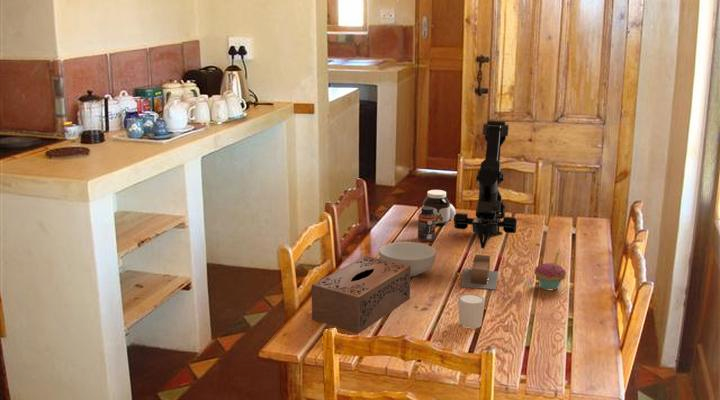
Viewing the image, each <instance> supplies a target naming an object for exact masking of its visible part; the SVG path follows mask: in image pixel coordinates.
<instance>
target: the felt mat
mask: <svg viewBox="0 0 720 400" xmlns="http://www.w3.org/2000/svg"><path fill="white" fill-rule="evenodd" d="M471 270H472V268H464V271H463V275H462V278H461V281H460V288H469V289H478V288H483V289H482V290H489V291H490V290H491V291H497V290H496V289H497V283H498V277H499V276H498V275H499V271H495V270H489V274H488V278H489V280H487V282H488V283H487V284H476V283H471Z"/></svg>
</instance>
